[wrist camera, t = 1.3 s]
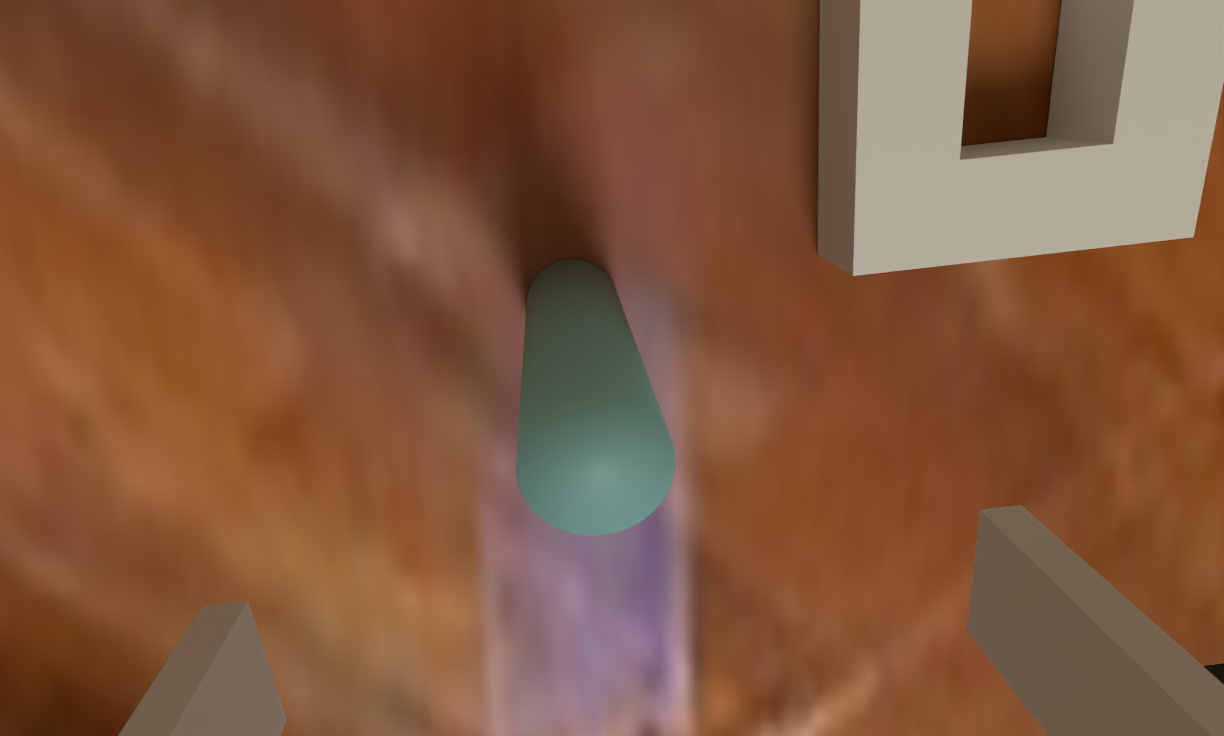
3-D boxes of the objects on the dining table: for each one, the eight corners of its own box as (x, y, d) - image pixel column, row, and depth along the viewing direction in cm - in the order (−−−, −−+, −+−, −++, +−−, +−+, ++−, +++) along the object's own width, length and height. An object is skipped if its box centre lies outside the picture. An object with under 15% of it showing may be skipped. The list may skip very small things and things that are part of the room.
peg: (532, 352, 33) (527, 544, 19) (520, 264, 32) (505, 404, 18) (621, 341, 33) (679, 525, 19) (613, 254, 32) (670, 384, 18)
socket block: (817, 254, 33) (853, 275, 29) (820, -115, 28) (864, -146, 24) (1120, 220, 33) (1193, 237, 30) (1177, -146, 28) (1273, -181, 25)
